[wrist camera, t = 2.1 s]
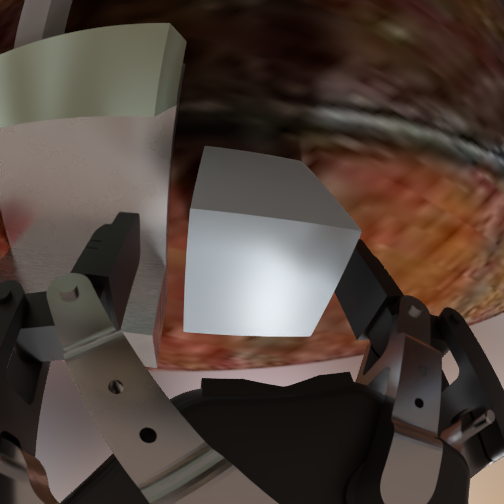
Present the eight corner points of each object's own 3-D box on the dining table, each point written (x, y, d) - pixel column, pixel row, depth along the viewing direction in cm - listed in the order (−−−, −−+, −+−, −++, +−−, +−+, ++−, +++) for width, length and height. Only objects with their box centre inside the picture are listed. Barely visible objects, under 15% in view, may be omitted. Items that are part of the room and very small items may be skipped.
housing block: (301, 161, 13) (361, 231, 8) (279, 241, 16) (310, 336, 11) (204, 145, 12) (190, 208, 7) (194, 231, 15) (183, 331, 10)
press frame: (185, 64, 10) (158, 50, 5) (167, 293, 18) (157, 367, 13) (-1, 86, 8) (-69, 108, 3) (26, 273, 15) (-6, 329, 11)
